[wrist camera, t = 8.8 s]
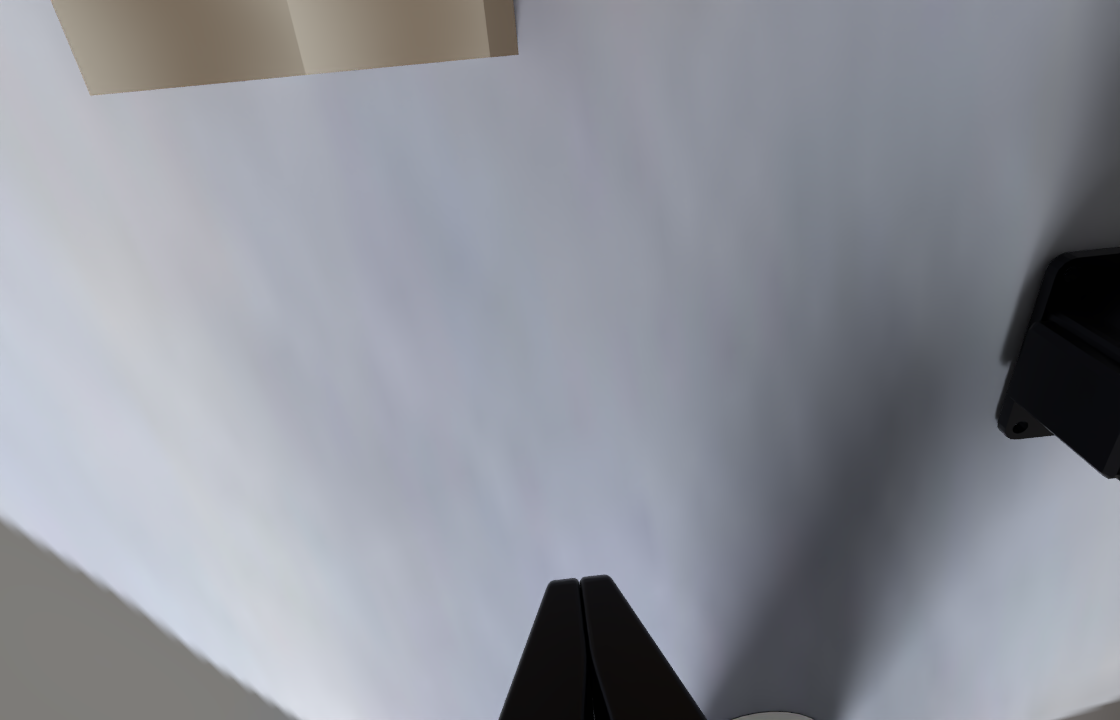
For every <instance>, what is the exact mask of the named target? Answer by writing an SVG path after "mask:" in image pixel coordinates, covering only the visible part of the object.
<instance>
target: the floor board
mask: <svg viewBox="0 0 1120 720" xmlns="http://www.w3.org/2000/svg"><path fill="white" fill-rule="evenodd" d="M51 2H52V4H53V7H54V9H55V12H56V14H57V16H58V19H59V21H60V24H61V26H62V28H63V31H64V33H65V36H66V38H67V40H68V43H69V45H70V48H71V50H72V52H73V55H74V57H75V60H76V62H77V64H78V67H79V69H80V72H81V74H82V76H83V79H84V81H85V84H86V86H87V88H88V91H89V93H90V96H92V95H102V94H113V93H123V92H133V91H144V90H154V89H164V88H175V87H185V86H196V85H206V84H216V83H227V82H237V81H247V80H258V79H268V78H279V77H289V76H299V75H310V74H320V73H330V72H341V71H351V70H361V69H372V68H382V67H393V66H403V65H413V64H424V63H434V62H444V61H455V60H465V59H475V58H486V57H498V56H509V55H519V54H518V44H517V35H516V25H515V15H514V6H513V0H51Z"/></svg>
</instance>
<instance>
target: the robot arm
mask: <svg viewBox="0 0 1120 720" xmlns="http://www.w3.org/2000/svg"><path fill="white" fill-rule="evenodd" d="M1070 267H1071V269H1070V271H1069V272H1068V273H1067V274H1065V272H1066V270H1068V269H1069V268H1070ZM1064 274H1065V275H1064ZM1015 424H1016V425H1015ZM998 428H999V430H1000V431H1001V432H1002V433H1003V434H1004V435H1005V436H1006V437H1008V438H1010V439H1025V438H1034V437H1043V436H1052V435H1055V436H1056V437H1058V438H1059V439H1060V440H1061V441H1062V442H1063V443H1065V444H1066V445H1067V446H1068V447H1069V448H1071V449H1072V450H1073V451H1074V452H1075V453H1077V454H1078V455H1079V456H1080V457H1081V458H1082V459H1084V460H1085V461H1086V462H1087V463H1088V464H1090V465H1091V466H1092V467H1093V468H1094V469H1096V470H1097V471H1098V472H1099V473H1100V474H1101V475H1103V476H1104V477H1106V478H1108V479H1111V478H1117V479H1118V480H1119V481H1120V247H1115V248H1106V249H1096V250H1087V251H1077V252H1068V253H1064V254H1061V255H1059V256H1058V257H1056V258H1054V259H1053V261H1052V262H1051V263H1050V264H1049V265H1048V267H1047V269H1046V272H1045V275H1044V278H1043V281H1042V284H1041V287H1040V291H1039V294H1038V297H1037V300H1036V303H1035V306H1034V309H1033V313H1032V316H1031V319H1030V322H1029V325H1028V328H1027V332H1026V335H1025V338H1024V341H1023V344H1022V347H1021V350H1020V354H1019V357H1018V360H1017V363H1016V366H1015V369H1014V373H1013V376H1012V379H1011V382H1010V385H1009V388H1008V391H1007V395H1006V398H1005V401H1004V404H1003V407H1002V410H1001V413H1000V417H999V420H998ZM594 719H595V720H707V719H706V717H705V716H704V714H703V713H702V711H701V710H700V708H699V707H698V705H697V704H696V702H695V701H694V700H693V698H692V697H691V695H690V694H689V692H688V691H687V689H686V688H685V686H684V685H683V683H682V682H681V680H680V679H679V677H678V676H677V674H676V673H675V671H674V670H673V668H672V667H671V665H670V664H669V663H668V661H667V660H666V658H665V657H664V655H663V654H662V652H661V651H660V649H659V648H658V646H657V645H656V643H655V642H654V640H653V639H652V637H651V636H650V634H649V633H648V631H647V630H646V628H645V627H644V625H643V624H642V623H641V621H640V620H639V618H638V617H637V615H636V614H635V612H634V611H633V609H632V608H631V606H630V605H629V603H628V602H627V600H626V599H625V597H624V596H623V594H622V593H621V591H620V590H619V588H618V587H617V586H616V584H615V583H614V581H613V580H612V578H611V577H610V576H608V575H597V576H588V577H583V578H582V579H581V580H580V584H579V581H578V580H577V579H575V578H570V579H561V580H553V581H551V582H550V583H549V584H548V586H547V588H546V591H545V594H544V596H543V599H542V602H541V604H540V607H539V610H538V613H537V615H536V618H535V621H534V624H533V626H532V629H531V632H530V635H529V637H528V640H527V643H526V646H525V648H524V651H523V654H522V657H521V659H520V662H519V665H518V667H517V670H516V673H515V676H514V678H513V681H512V684H511V687H510V689H509V692H508V695H507V698H506V700H505V703H504V706H503V709H502V711H501V714H500V717H499V720H594Z"/></svg>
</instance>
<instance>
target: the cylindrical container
mask: <svg viewBox="0 0 1120 720" xmlns="http://www.w3.org/2000/svg"><path fill="white" fill-rule="evenodd" d="M733 720H814V719H812V718H809V717H806V716H803V715H800V714H794V713H789V712H766V713H756V714H752V715H747V716H742V717H739V718H736V719H733Z"/></svg>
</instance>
